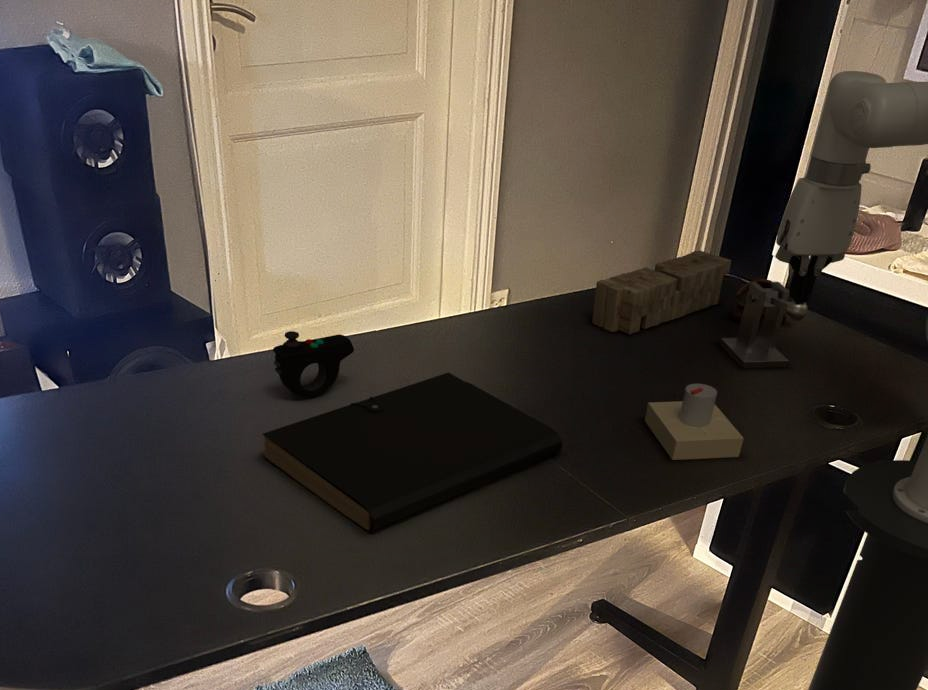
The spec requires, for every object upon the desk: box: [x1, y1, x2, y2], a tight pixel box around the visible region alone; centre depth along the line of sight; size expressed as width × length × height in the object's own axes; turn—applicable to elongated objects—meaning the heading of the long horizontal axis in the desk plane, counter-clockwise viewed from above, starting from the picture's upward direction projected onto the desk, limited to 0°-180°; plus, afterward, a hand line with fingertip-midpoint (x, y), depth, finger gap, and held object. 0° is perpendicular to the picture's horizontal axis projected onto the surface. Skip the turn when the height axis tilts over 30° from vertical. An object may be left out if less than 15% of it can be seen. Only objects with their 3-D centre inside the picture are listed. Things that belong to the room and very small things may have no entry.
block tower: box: [591, 249, 732, 336], centre depth 177 cm, size 8×8×29 cm
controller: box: [272, 330, 355, 399], centre depth 144 cm, size 4×12×10 cm, turn 124°
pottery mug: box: [732, 277, 788, 326], centre depth 178 cm, size 12×10×8 cm
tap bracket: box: [719, 281, 790, 369], centre depth 162 cm, size 10×8×12 cm
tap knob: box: [680, 383, 718, 426], centre depth 138 cm, size 4×4×5 cm
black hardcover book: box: [262, 372, 563, 532], centre depth 132 cm, size 33×4×24 cm
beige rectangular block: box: [644, 400, 745, 461], centre depth 140 cm, size 12×10×3 cm
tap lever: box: [763, 288, 809, 322], centre depth 155 cm, size 13×3×3 cm, turn 10°
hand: (798, 298), depth 150 cm, fingers closed
